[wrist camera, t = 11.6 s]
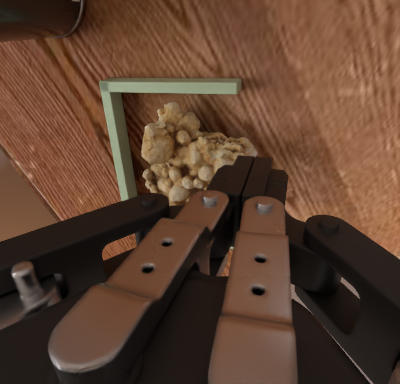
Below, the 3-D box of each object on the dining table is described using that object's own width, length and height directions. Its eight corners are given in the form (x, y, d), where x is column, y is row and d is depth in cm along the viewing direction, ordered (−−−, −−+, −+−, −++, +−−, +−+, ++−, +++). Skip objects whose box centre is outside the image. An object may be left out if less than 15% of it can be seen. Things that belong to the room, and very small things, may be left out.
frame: (135, 223, 49) (127, 232, 47) (110, 77, 39) (98, 81, 37) (239, 238, 45) (235, 249, 42) (241, 78, 34) (237, 82, 32)
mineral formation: (271, 140, 36) (219, 235, 44) (175, 88, 39) (142, 185, 47) (251, 158, 30) (194, 266, 37) (137, 93, 32) (105, 206, 40)
